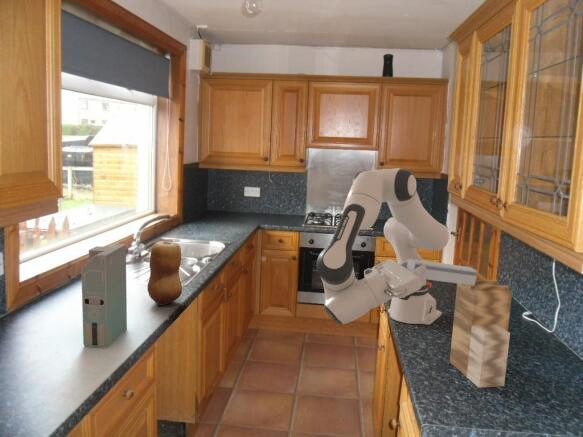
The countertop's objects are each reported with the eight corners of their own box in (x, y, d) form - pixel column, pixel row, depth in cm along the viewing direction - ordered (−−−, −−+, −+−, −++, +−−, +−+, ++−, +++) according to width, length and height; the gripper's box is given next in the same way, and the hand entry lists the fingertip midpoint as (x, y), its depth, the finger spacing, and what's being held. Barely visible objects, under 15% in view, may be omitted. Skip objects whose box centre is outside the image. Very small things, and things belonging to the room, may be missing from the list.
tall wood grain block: (478, 387, 145) (488, 296, 140) (449, 362, 160) (457, 279, 156) (516, 385, 147) (527, 294, 143) (483, 360, 163) (492, 278, 159)
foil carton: (412, 277, 144) (415, 262, 144) (405, 273, 148) (408, 258, 148) (474, 285, 149) (477, 271, 148) (466, 281, 153) (469, 267, 152)
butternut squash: (184, 307, 200) (184, 245, 196) (149, 310, 195) (148, 246, 191) (178, 296, 213) (178, 238, 209) (145, 299, 208) (144, 239, 204)
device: (105, 327, 177) (103, 242, 172) (127, 328, 177) (126, 244, 172) (83, 346, 161) (80, 254, 156) (107, 348, 160) (105, 255, 155)
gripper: (388, 289, 134) (432, 263, 136) (362, 268, 154) (401, 246, 155) (398, 308, 136) (441, 283, 137) (371, 286, 156) (409, 263, 157)
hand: (420, 263), depth 146 cm, fingers closed on foil carton, 4 cm apart
